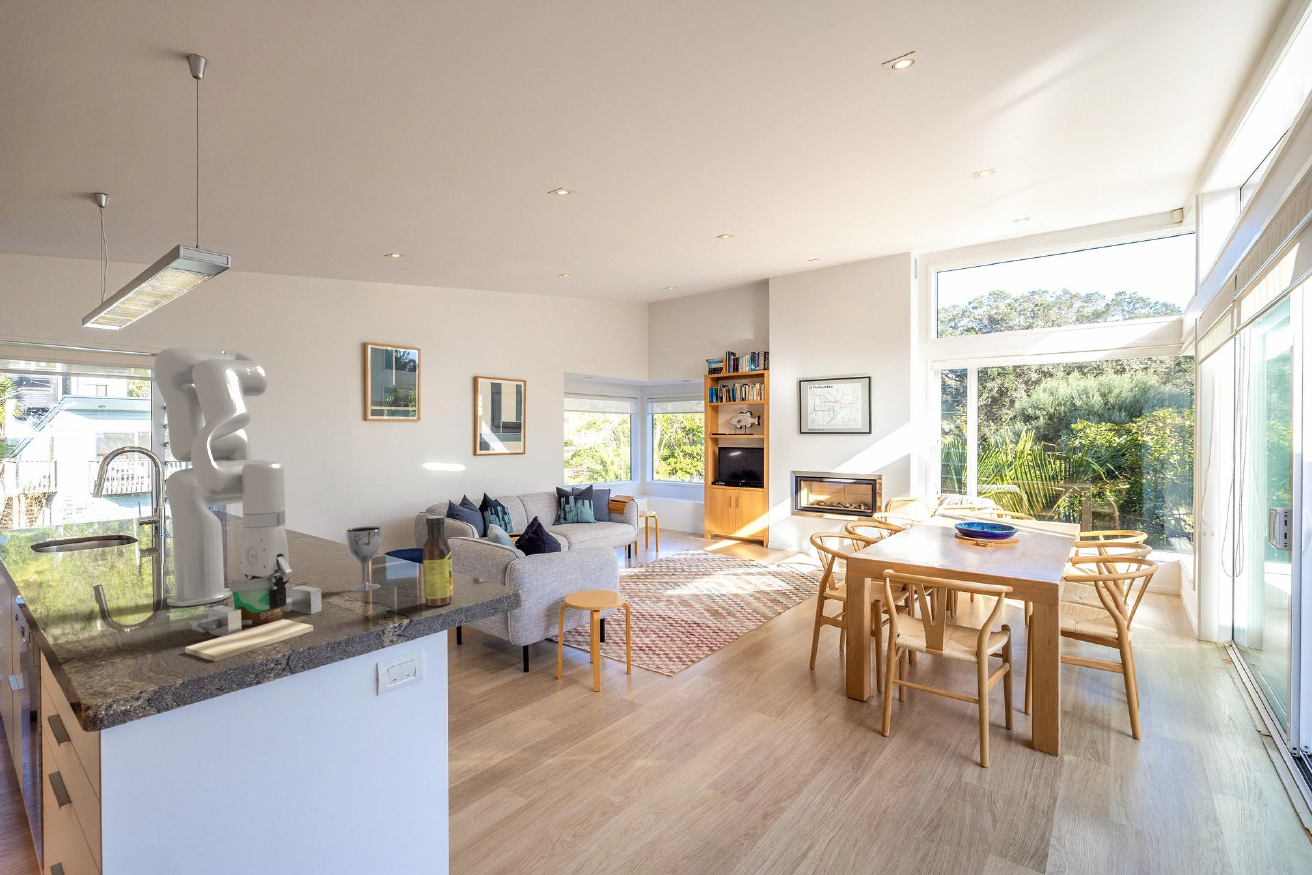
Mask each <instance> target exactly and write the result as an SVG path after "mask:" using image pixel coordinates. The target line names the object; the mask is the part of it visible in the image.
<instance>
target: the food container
mask: <svg viewBox="0 0 1312 875" xmlns="http://www.w3.org/2000/svg"><path fill="white" fill-rule="evenodd" d="M273 574H275V572H274V573H273ZM274 579H275V582H276V580H277V579H278V577H275V578H274ZM229 589H230V592H232V598H233V606H234V608H236V609H241V627H242V629H250V628H254V627H257V626H261V625H264V624H268V623H271V622H275V621H278V620H282V619H284V611H285V610H284V606H282V607H279V608H275V609H270V607H269V590H271V586H270V583H269V580H268V577H266V578H261V577H253V578H251V579H249V580H247V579H246V580H231V583H230V587H229ZM283 610H284V611H283Z"/></svg>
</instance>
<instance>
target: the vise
mask: <svg viewBox="0 0 1312 875" xmlns="http://www.w3.org/2000/svg"><path fill="white" fill-rule="evenodd" d="M290 590H291V591H290V593H291V594H290V595H291V597H286V605H285V606H284V610H283V612H284V611H287V610H292V611H293V612H299V613H303V614H304V613H305V614H309V615H314V614H316V613H320V612H322V610H323V609H322V607H323V605H322V588H319V587H313V586H307V585H298V586H294V587H291V588H290ZM207 611H208V618H204V619H201V620H197V621H193V622H191V623H192V624H191V627H192V628H191V629H192V631H195V632H199V633H202V634H203V633H207V632H209V634H210V635H214V636H218V637H223V636H226V635H230V634H233V633H237V632H240V631H243V630H242V629H243V628H242V627H241V609H236V608H235V607H232V606H227V605H222V604H220V605H216V606H214V607H209V608H208V610H207Z"/></svg>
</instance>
